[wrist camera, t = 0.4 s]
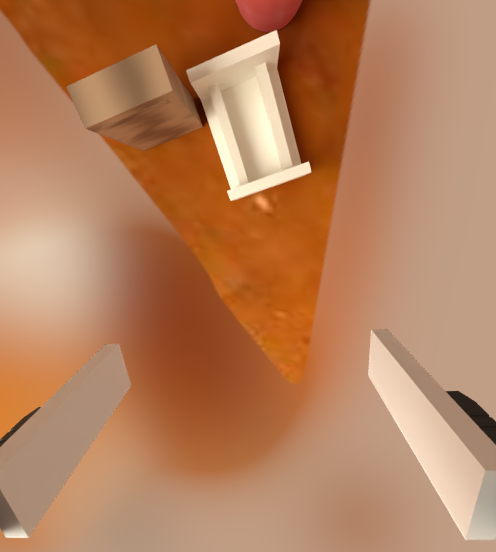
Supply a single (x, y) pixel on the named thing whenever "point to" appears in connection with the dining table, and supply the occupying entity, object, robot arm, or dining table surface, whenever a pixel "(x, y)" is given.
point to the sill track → (249, 116)
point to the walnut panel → (136, 101)
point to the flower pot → (268, 13)
